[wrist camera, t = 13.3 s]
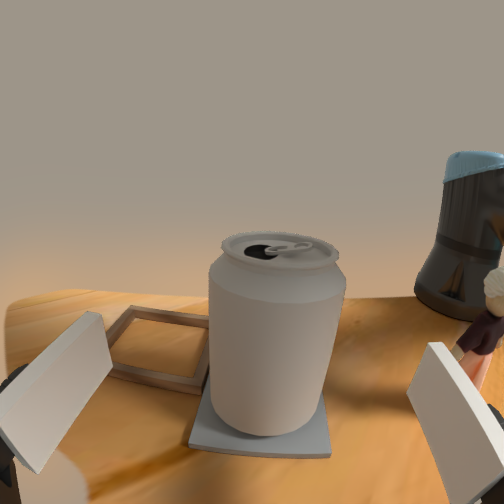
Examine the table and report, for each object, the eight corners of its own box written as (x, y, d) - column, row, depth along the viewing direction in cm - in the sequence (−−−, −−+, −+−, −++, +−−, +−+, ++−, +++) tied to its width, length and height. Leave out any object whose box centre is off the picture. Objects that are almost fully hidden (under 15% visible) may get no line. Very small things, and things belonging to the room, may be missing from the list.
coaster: (317, 373, 23) (318, 368, 23) (329, 457, 15) (331, 453, 14) (212, 365, 24) (212, 360, 24) (188, 447, 15) (188, 442, 15)
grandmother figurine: (439, 440, 14) (518, 284, 11) (409, 413, 18) (469, 261, 14) (483, 400, 17) (540, 269, 13) (457, 380, 20) (504, 254, 17)
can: (222, 366, 23) (225, 222, 19) (312, 375, 22) (339, 232, 19) (199, 434, 16) (189, 256, 12) (317, 447, 15) (368, 272, 11)
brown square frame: (223, 325, 30) (223, 317, 30) (201, 395, 20) (201, 386, 20) (131, 312, 31) (130, 305, 30) (85, 368, 21) (82, 359, 20)
